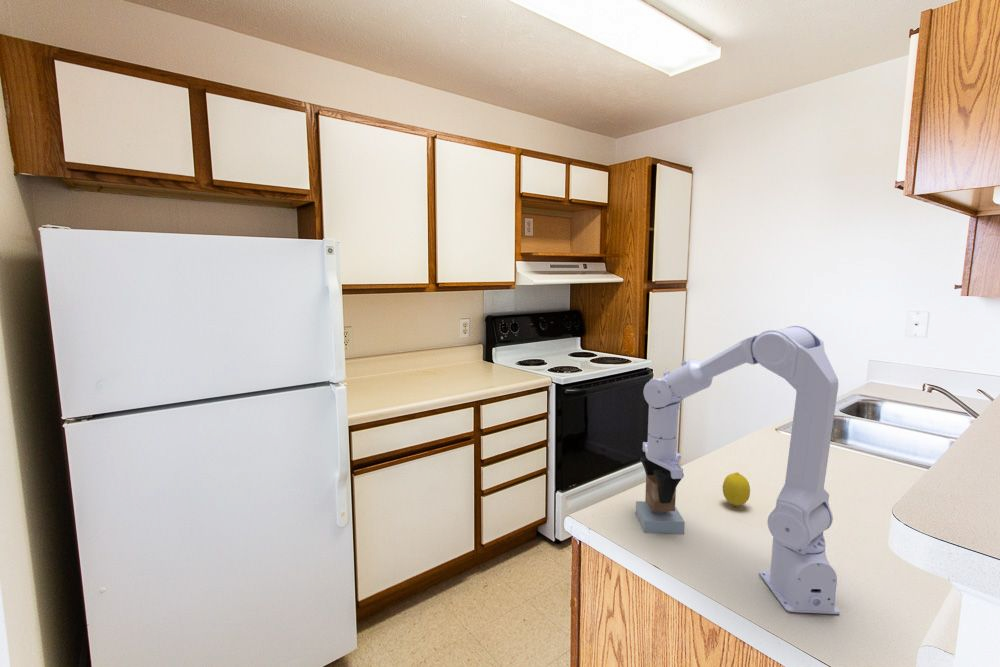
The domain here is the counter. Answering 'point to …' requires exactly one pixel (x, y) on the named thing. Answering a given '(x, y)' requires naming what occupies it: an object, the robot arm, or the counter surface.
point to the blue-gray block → (659, 520)
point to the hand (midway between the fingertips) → (659, 496)
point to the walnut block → (657, 496)
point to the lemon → (736, 489)
